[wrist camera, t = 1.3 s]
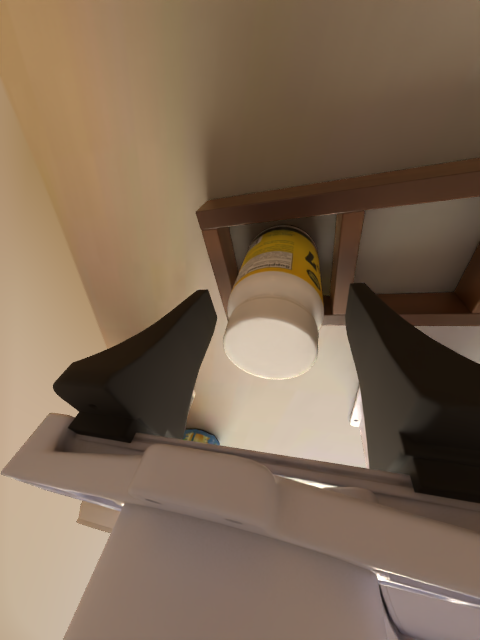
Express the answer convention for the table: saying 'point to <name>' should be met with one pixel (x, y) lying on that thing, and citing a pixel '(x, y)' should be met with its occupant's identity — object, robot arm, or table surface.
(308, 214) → the frame
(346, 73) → the table surface
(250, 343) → the supplement bottle
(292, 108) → the table surface
